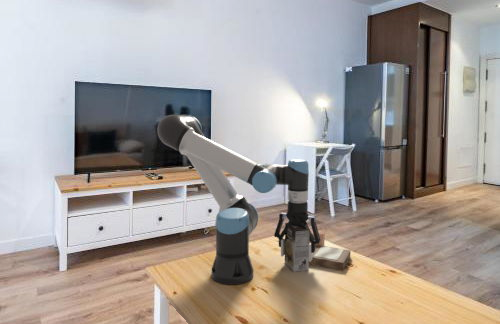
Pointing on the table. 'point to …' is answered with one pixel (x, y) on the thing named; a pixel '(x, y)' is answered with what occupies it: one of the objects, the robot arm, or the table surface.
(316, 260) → the walnut picture frame
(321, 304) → the table surface
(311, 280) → the table surface
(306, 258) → the coffee box
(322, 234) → the peach glossy stubby part
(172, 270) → the table surface
